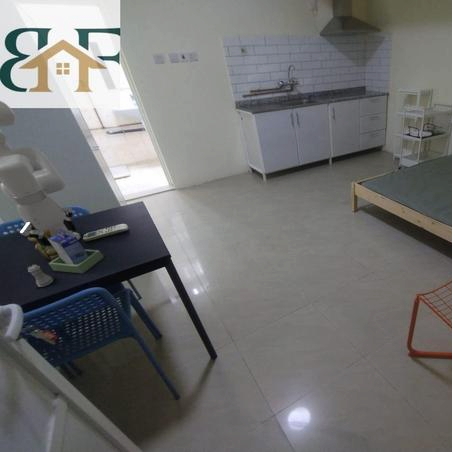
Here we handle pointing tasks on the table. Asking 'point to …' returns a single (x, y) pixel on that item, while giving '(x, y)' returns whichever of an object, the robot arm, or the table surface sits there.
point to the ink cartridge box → (68, 248)
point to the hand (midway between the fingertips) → (60, 237)
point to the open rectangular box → (80, 268)
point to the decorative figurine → (45, 250)
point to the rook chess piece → (40, 276)
